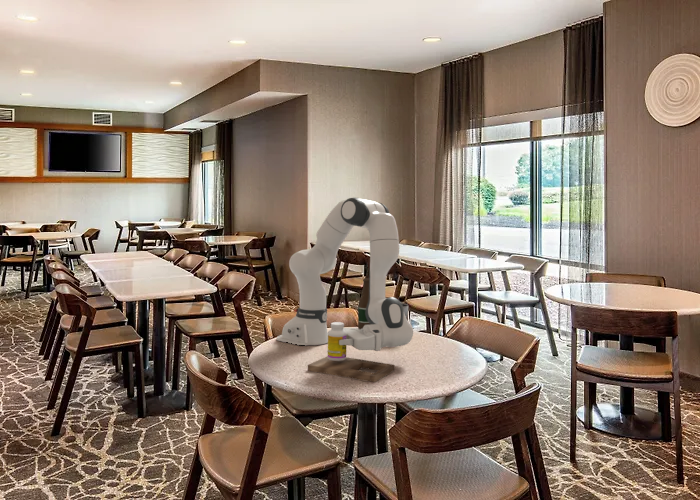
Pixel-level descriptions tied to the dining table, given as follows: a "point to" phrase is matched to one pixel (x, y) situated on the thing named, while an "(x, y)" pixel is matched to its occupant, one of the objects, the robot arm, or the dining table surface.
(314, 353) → the dining table surface
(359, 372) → the caddy board
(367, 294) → the beer bottle
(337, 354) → the supplement bottle
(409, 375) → the dining table surface
